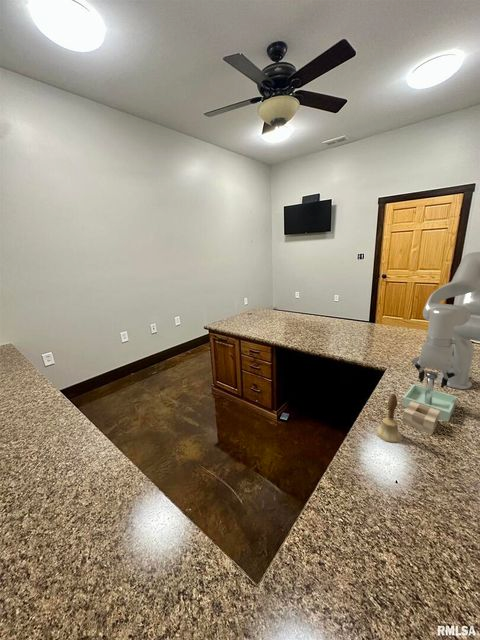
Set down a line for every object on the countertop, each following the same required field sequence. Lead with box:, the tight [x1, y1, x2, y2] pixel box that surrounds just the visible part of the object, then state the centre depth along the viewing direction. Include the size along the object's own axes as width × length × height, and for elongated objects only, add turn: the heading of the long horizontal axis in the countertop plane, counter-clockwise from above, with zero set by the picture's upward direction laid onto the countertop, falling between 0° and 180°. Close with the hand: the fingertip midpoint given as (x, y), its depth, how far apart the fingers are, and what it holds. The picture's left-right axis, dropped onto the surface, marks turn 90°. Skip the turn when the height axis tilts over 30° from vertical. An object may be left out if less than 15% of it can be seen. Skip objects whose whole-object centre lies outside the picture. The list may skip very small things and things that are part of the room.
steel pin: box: [424, 370, 439, 405], centre depth 102 cm, size 4×4×13 cm
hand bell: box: [374, 393, 403, 444], centre depth 87 cm, size 8×8×16 cm
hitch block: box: [401, 401, 440, 435], centre depth 94 cm, size 9×9×5 cm
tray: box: [401, 383, 458, 423], centre depth 103 cm, size 14×15×4 cm
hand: (432, 383), depth 101 cm, fingers open, 6 cm apart
